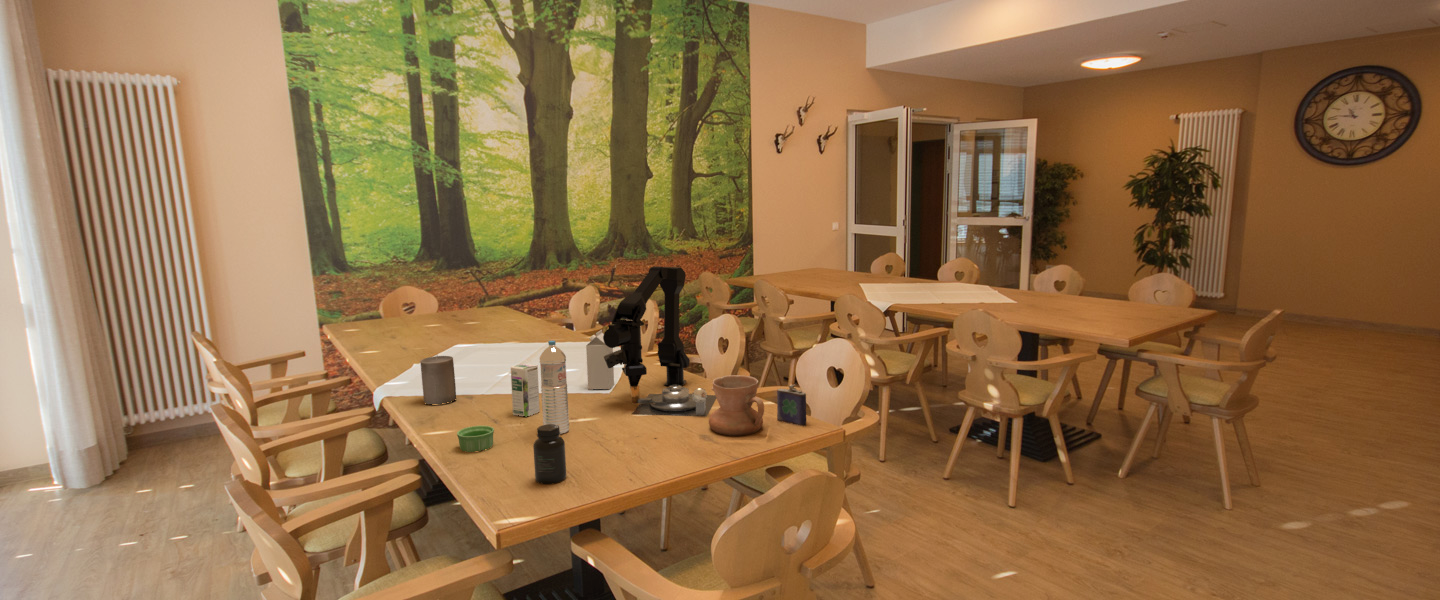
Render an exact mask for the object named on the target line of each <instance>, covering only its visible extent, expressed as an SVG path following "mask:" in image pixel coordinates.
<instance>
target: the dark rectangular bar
mask: <svg viewBox="0 0 1440 600" xmlns="http://www.w3.org/2000/svg"><path fill="white" fill-rule="evenodd" d="M691 394H692V398H693V400H694V401H695V402H696V415H703V416H704V415H705V414H706V400H705V399H706V397H707V395H708V394H707V391H706V389H705V388H701V387H698V388H695V389H694V390H693V391H692V393H691Z"/></svg>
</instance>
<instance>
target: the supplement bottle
mask: <svg viewBox="0 0 1440 600" xmlns="http://www.w3.org/2000/svg"><path fill="white" fill-rule="evenodd" d="M536 431H537V432H536V433H537V434H536V436H537V439H536V440H535V441H534V442H533V460H534V461H533V462H534V463H533V464H534V477H535V478H534V479H535V482H537V483H538V482H539V484H541V483H543V484H542V485H553V484H552V483H554V484H558V483H561V482H563V481H564V480H565V479H566V478H567V461H566V460H567V459H566V444H565V439H564V438H563V437H561V436H560V435H561V434H560V430H559V426H558V425H555V424H548V425H543V424H542V425H540V426H538V427H537V429H536ZM562 480H563V481H562ZM560 481H561V482H560ZM557 482H558V483H557Z"/></svg>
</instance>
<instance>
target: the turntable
mask: <svg viewBox="0 0 1440 600" xmlns="http://www.w3.org/2000/svg"><path fill="white" fill-rule="evenodd" d="M630 393H631V404H632V405H633V404H634V405H635V404H641V403H644V404H650V406H651V407H652V408H654V409H657V410H662V411H686V410H691V409H695V408H696V402H695V401H694V400H693V398H692V393H689V401H687V402H684V403H679V404H670V403H665V402H663V401H662V395H659V396H656V397H653V398H646V397H640V386H639V385H638V386H637V385H634V386H631V388H630Z"/></svg>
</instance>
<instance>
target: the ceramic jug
mask: <svg viewBox="0 0 1440 600" xmlns="http://www.w3.org/2000/svg"><path fill="white" fill-rule="evenodd" d="M758 388H759V380H758V379H757V378H756V377H753V376H751V375H750V376H749V375H742V374H741V375H739V374H738V375H737V374H736V375H734V374H731V375H730V374H729V375H724V376H721V377H716V378H714V379H713V380H712V387H711V388H710V389H711V391H712V392H714V395H716V398H717V399H716V401H717V403H718V405H719V407H718V408H717V409H715V411H713V412H712V413H710V416H709V418H708V424H709V427H710V429H711V430H712V431H713V432H715V433H717V434H719V435H723V436H730V437H732V436H733V437H739V436H740V437H742V436H749V435H752V434H755V433H757V432H758V431H760V430H761V429H762V427H763V424H764V419H763V417H764V414H765V404H764V401H763V399H762V398H760V397H759V396H757V393H758ZM753 403H755V404H756V405H757V406H756V407H757V410H756V409H754V408H753V407H752V406H753Z"/></svg>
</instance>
